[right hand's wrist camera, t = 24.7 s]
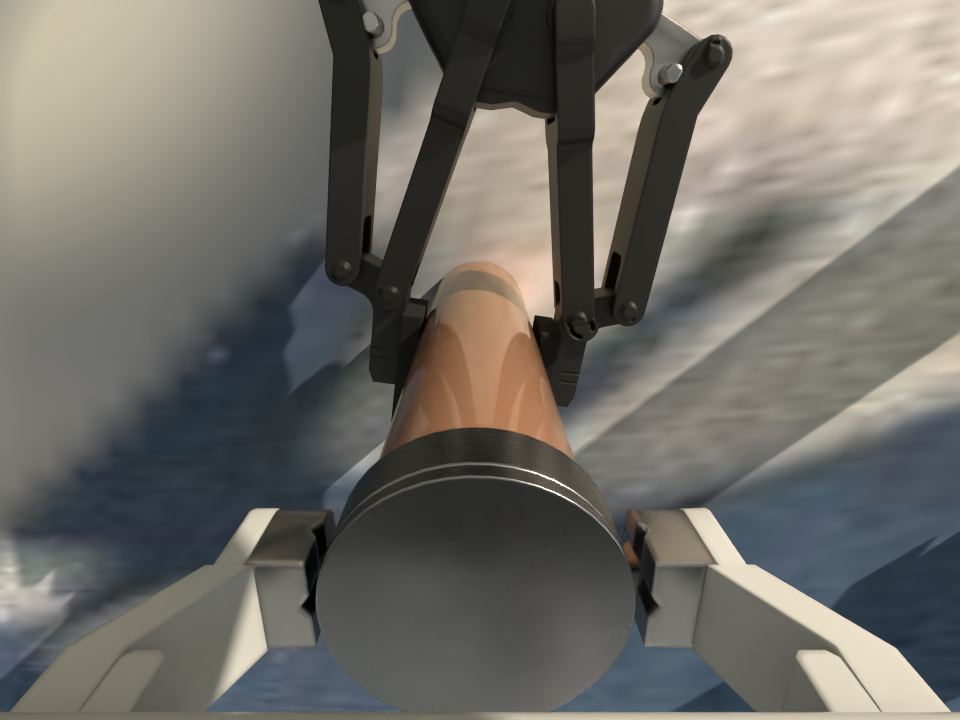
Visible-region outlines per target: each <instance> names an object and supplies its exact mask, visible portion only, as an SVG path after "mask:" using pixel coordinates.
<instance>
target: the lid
mask: <svg viewBox="0 0 960 720" xmlns="http://www.w3.org/2000/svg"><path fill="white" fill-rule="evenodd" d="M635 609H636V589H635V584H634V578H633V573H632V570H631V568H630V565H629V562H628V559H627V556H626V554H625V551H624V548H623V546H622V543H621V540H620V538H619V535H618V532H617V530H616V527H615V524H614V522H613V519H612V516H611V514H610V511H609V508H608V506H607V503H606V501H605V499H604V497H603V495H602V493H601V491H600V490H599V488H598V486H597V485H596V484H595V482H594V481H593V480H592V478H591V477H590V476H589V474H587V473H586V472H585V471H584V470H583V469H582V468H581V467H580V466H579V465H578V464H577V463H576V462H575V461H574V460H572V459H571V458H570V457H568V456H567V455H566V454H564V453H563V452H562V451H560V450H558V449H556V448H554V447H553V446H551V445H549V444H547V443H545V442H543V441H541V440H538V439H536V438H533V437H531V436H528V435H525V434H521V433H517V432H514V431H510V430H503V429H496V428H486V427H466V428H455V429H448V430H444V431H439V432H434V433H431V434H428V435H425V436H422V437H419V438H416V439H414V440H412V441H410V442H408V443H405V444H403V445H401V446H399V447H397V448H396V449H394V450H393V451H391V452H390V453H388V454H387V455H385V456H384V457H382V458H381V459H380V460H379V461H378V462H376V463H375V464H374V465H373V466H372V467H371V468H370V469H369V470H368V471H367V472H366V473H365V474H364V475H363V477H362V478H361V479H360V480H359V481H358V483H357V484H356V486H355V487H354V489H353V491H352V492H351V494H350V495H349V498H348V500H347V502H346V505H345V507H344V509H343V512H342V514H341V517H340V520H339V522H338V525H337V527H336V530H335V532H334V535H333V537H332V540H331V542H330V545H329V548H328V550H327V553H326V555H325V558H324V560H323V563H322V565H321V568H320V572H319V576H318V580H317V586H316V610H317V619H318V622H319V626H320V630H321V633H322V636H323V638H324V640H325V642H326V645H327V647H328V649H329V650H330V652H331V654H332V655H333V657H334V658H335V660H336V661H337V663H338V664H339V665H340V666H341V667H342V669H343V670H344V671H345V672H346V673H347V674H348V676H350V677H351V678H352V679H353V680H354V681H355V682H356V683H357V684H358V685H359V686H361V687H362V688H363V689H365V690H366V691H368V692H369V693H370V694H372V695H373V696H375V697H376V698H378V699H380V700H382V701H383V702H385V703H387V704H389V705H391V706H393V707H395V708H398V709H400V710H402V711H405V712H547V711H550V710H552V709H555V708H557V707H559V706H561V705H563V704H565V703H567V702H569V701H571V700H572V699H574V698H575V697H577V696H578V695H580V694H582V693H583V692H585V691H586V690H587V689H588V688H590V687H591V686H592V685H593V684H595V683H596V682H597V681H598V680H599V679H600V678H601V677H602V676H603V675H604V674H605V673H606V672H607V671H608V670H609V669H610V668H611V666H612V665H613V663H614V662H615V661H616V659H617V658H618V657H619V655H620V654H621V652H622V650H623V648H624V646H625V644H626V642H627V640H628V637H629V634H630V632H631V629H632V626H633V621H634V615H635Z"/></svg>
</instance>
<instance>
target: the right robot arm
mask: <svg viewBox="0 0 960 720" xmlns="http://www.w3.org/2000/svg"><path fill="white" fill-rule="evenodd" d="M335 528H336V525H335V519H334V513H333V512H332V510H331V509H290V508H281V509H278V508H255V509H253V510H251V511H250V512H249V513H248V514H247V516H246V517H245V519H244V520H243V522H242V523H241V525H240V526H239V528H238V529H237V531H236V532H235V534H234V535H233V536H232V538H231V539H230V541H229V542H228V544H227V545H226V547H225V548H224V550H223V551H222V553H221V554H220V556H219V557H218V559H217V560H216V562H215V563H214V565H204V566H203V567H201V568H199V569H198V570H196V571H194V572H192V573H191V574H189V575H187V576H186V577H184V578H182V579H181V580H179V581H177V582H175V583H174V584H172V585H170V586H169V587H167V588H165V589H164V590H162V591H160V592H158V593H157V594H155V595H153V596H152V597H150V598H148V599H147V600H145V601H143V602H141V603H140V604H138V605H136V606H135V607H133V608H131V609H130V610H128V611H126V612H124V613H123V614H121V615H119V616H118V617H116V618H114V619H113V620H111V621H109V622H107V623H106V624H104V625H102V626H101V627H99V628H97V629H96V630H94V631H92V632H90V633H89V634H87V635H85V636H84V637H82V638H80V639H79V640H77V641H75V642H73V643H72V644H70V645H68V646H67V647H65V648H64V649H63V650H62V652H61V653H60V654H59V655H58V656H57V657H56V659H55V660H54V661H53V662H52V663H51V664H50V665H49V667H48V668H47V669H46V670H45V671H44V672H43V674H42V675H41V676H40V677H39V678H38V679H37V680H36V682H35V683H34V684H33V685H32V686H31V687H30V689H29V690H28V691H27V692H26V693H25V694H24V695H23V697H22V698H21V699H20V700H19V701H18V702H17V704H16V705H15V706H14V707H13V708H12V709H11V710H10V712H0V720H960V712H950V710H949V709H948V708H947V707H946V706H945V705H944V703H943V702H942V701H941V700H940V699H939V698H938V696H937V695H936V694H935V693H934V692H933V691H932V689H931V688H930V687H929V686H928V685H927V684H926V683H925V681H924V680H923V679H922V678H921V677H920V676H919V674H918V673H917V672H916V671H915V670H914V669H913V667H912V666H911V665H910V664H909V663H908V662H907V660H906V659H905V658H904V657H903V656H902V655H901V653H900V652H899V651H898V650H897V649H896V648H895V647H893V646H891V645H890V644H888V643H886V642H885V641H883V640H881V639H879V638H878V637H876V636H874V635H873V634H871V633H869V632H868V631H866V630H864V629H863V628H861V627H859V626H857V625H856V624H854V623H852V622H851V621H849V620H847V619H846V618H844V617H842V616H840V615H839V614H837V613H835V612H834V611H832V610H830V609H829V608H827V607H825V606H824V605H822V604H820V603H818V602H817V601H815V600H813V599H812V598H810V597H808V596H807V595H805V594H803V593H802V592H800V591H798V590H796V589H795V588H793V587H791V586H790V585H788V584H786V583H785V582H783V581H781V580H779V579H778V578H776V577H774V576H773V575H771V574H769V573H768V572H766V571H764V570H763V569H761V568H759V567H757V566H756V565H746V563H745V562H744V560H743V559H742V557H741V556H740V554H739V553H738V551H737V550H736V548H735V547H734V546H733V544H732V543H731V541H730V540H729V538H728V537H727V535H726V534H725V532H724V531H723V529H722V528H721V526H720V525H719V524H718V522H717V521H716V519H715V518H714V516H713V515H712V513H711V512H710V511H709V510H708V509H706V508H685V509H673V510H628V511H627V514H626V517H625V525H624V528H625V531H626V533H627V536H628V539H629V540H628V541H627V542H626V543H625V544H624V545H623V548H624V551H625V554H626V556H627V559H628V562H629V565H630V568H631V570H632V573H633V578H634V584H635V589H636V609H635V615H634V618H635V620H636V623H637V626H638V629H639V632H640V635H641V637H642V640H643V643H644V646H649V647H684V648H693V649H692V650H693V651H694V652H695V653H696V654H697V655H698V656H699V657H700V658H701V659H702V660H703V661H704V662H705V663H706V664H707V665H708V666H709V667H710V668H711V669H712V670H713V671H714V672H715V673H716V674H717V675H718V676H719V677H720V678H721V679H722V680H723V681H725V682H726V683H727V684H728V685H729V686H730V687H731V688H732V689H733V690H734V691H735V692H736V693H737V694H738V695H739V696H740V697H741V698H742V699H743V700H744V701H745V702H746V703H747V704H748V705H749V706H750V707H751V708H752V709H753V710H754V711H755V712H205V711H206V710H207V709H208V708H209V707H210V706H211V705H212V704H213V703H214V702H215V701H216V700H217V699H218V698H219V697H220V696H221V695H222V694H223V693H224V692H226V691H227V690H228V689H229V688H230V687H231V686H232V685H233V684H234V683H235V682H236V681H237V680H238V679H239V678H240V677H241V676H242V675H243V674H244V673H245V672H246V671H247V670H248V669H249V668H250V667H251V666H252V665H253V664H254V663H255V662H256V661H257V660H258V659H259V658H260V657H261V656H262V655H264V654H265V653H266V652H267V650H268V649H267V648H275V647H309V646H316V644H317V641H318V638H319V635H320V632H321V630H320V626H319V622H318V619H317V610H316V586H317V580H318V576H319V572H320V568H321V565H322V563H323V560H324V558H325V555H326V553H327V550H328V548H329V545H330V542H331V539H332V536H333V534H334V531H335Z"/></svg>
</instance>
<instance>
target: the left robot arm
mask: <svg viewBox="0 0 960 720" xmlns="http://www.w3.org/2000/svg"><path fill="white" fill-rule="evenodd" d="M319 4H320V8H321V12H322V15H323V19H324V23H325V26H326V30H327V34H328V37H329V41H330V45H331V48H332V52H333V80H332V106H331V132H330V157H329V182H328V208H327V233H326V258H325V270H326V275H327V276H328V278H329V280H330V281H332V282H333V283H334V284H336V285H339V286H349V287H350V288H352V289H354V290H356V291H358V292H360V293H362V294H364V295H365V296H366V297H367V298H368V299H369V300H370V302H371V304H372V307H373V326H372V338H371V351H370V363H369V371H370V374H371V377H372V380H373V381H374V382H381V383H389V384H395V389H394V399H393V410H392V419H393V416H394V413H395V410H396V407H397V404H398V401H399V399H400V396H401V393H402V390H403V387H404V384H405V381H406V378H407V375H408V372H409V369H410V366H411V363H412V360H413V357H414V354H415V351H416V348H417V345H418V342H419V340H420V337H421V334H422V331H423V328H424V325H425V322H426V316H427V308H428V300H423V299H416V298H410V294H411V288H412V286H413V284H414V280H415V277H416V274H417V272H418V269H419V266H420V263H421V261H422V258H423V255H424V252H425V249H426V247H427V244H428V241H429V238H430V235H431V233H432V230H433V227H434V224H435V221H436V219H437V216H438V213H439V210H440V208H441V205H442V202H443V199H444V196H445V194H446V191H447V188H448V185H449V182H450V180H451V177H452V174H453V171H454V169H455V166H456V163H457V160H458V157H459V155H460V152H461V149H462V146H463V143H464V141H465V138H466V135H467V133H468V131H469V128H470V125H471V123H472V120H473V117H474V114H475V111H476V109H477V108H480V109H487V110H496V109H504V108H515V109H517V110H519V111H521V112H524V113H526V114H528V115H530V116H532V117H536V118H542V119H545V130H546V144H547V148H548V164H549V188H550V213H551V237H552V261H553V285H554V307H555V315H554V320H553V319H552V318H550V317H543V316H536V315H535V317H534V322H533V328H532V329H533V332H534V335H535V338H536V341H537V344H538V348H539V351H540V354H541V357H542V360H543V363H544V366H545V369H546V372H547V375H548V379H549V382H550V385H551V388H552V391H553V394H554V397H555V400H556V403H557V406H564V407H567V406H568V404H569V403H570V402H571V400H572V399H573V397H574V395H575V390H576V386H577V381H578V377H579V373H580V368H581V364H582V359H583V355H584V351H585V346H586V342H587V341H589V340H590V339H592V338H593V337H594V336H595V335H596V333H597V332H598V329H599V328H602V327H606V326H611V325H616V324H621V325H623V326H632V325H634V324H637V323H638V322H639V321H640V320H641V319H642V317H643V315H644V313H645V309H646V306H647V302H648V298H649V294H650V291H651V287H652V283H653V280H654V276H655V272H656V268H657V265H658V261H659V257H660V253H661V250H662V246H663V242H664V239H665V235H666V231H667V227H668V224H669V220H670V216H671V212H672V209H673V205H674V201H675V197H676V194H677V190H678V186H679V183H680V179H681V175H682V171H683V168H684V164H685V160H686V156H687V153H688V149H689V145H690V142H691V138H692V134H693V130H694V127H695V123H696V119H697V116H698V114H699V112H700V111H701V109H702V108H703V106H704V104H705V103H706V101H707V100H708V98H709V96H710V95H711V93H712V92H713V90H714V89H715V87H716V85H717V84H718V82H719V81H720V79H721V77H722V76H723V74H724V73H725V71H726V69H727V68H728V66H729V64H730V62H731V59H732V47H731V43H730V42H729V40H728V39H727V38H726V37H724V36H722V35H719V34H718V35H711V36H709V37H707V38H705V39H701V38H699V37H698V36H696V35H695V34H693V33H692V32H690V31H689V30H688V29H686V28H685V27H683V26H682V25H680V24H679V23H677V22H676V21H674V20H673V19H671V18H670V17H669V16H667V15H666V14H664V13H663V12H662V10H663V0H319ZM410 9H412V11H413V13H414V15H415V17H416V19H417V21H418V23H419V25H420V27H421V29H422V31H423V33H424V35H425V37H426V39H427V41H428V44H429V46H430V48H431V50H432V52H433V54H434V56H435V58H436V60H437V62H438V64H439V66H440V68H441V70H442V72H443V77H442V80H441V83H440V86H439V89H438V92H437V95H436V98H435V102H434V105H433V109H432V113H431V118H430V122H429V125H428V128H427V131H426V134H425V137H424V140H423V143H422V146H421V149H420V152H419V155H418V158H417V161H416V164H415V167H414V170H413V173H412V176H411V179H410V182H409V185H408V188H407V191H406V194H405V197H404V200H403V203H402V206H401V209H400V212H399V215H398V218H397V221H396V224H395V227H394V230H393V233H392V236H391V239H390V242H389V245H388V248H387V251H386V254H385V257H384V260H382V259H380V258H378V257H376V256H374V255H372V254H371V250H372V236H373V221H374V207H375V192H376V178H377V163H378V149H379V134H380V119H381V105H382V90H383V71H382V60H381V54H383V53H385V52H388V51H389V50H390V49H391V48H392V47H393V46H394V44H395V41H396V32H397V31H396V30H397V22H398V19H399V18H400V16H401V15H402V14H403V13H404V12H405V11H407V10H410ZM637 49H639V50H640V51H641V52H642V53H643V55H644V58H645V62H646V63H645V71H644V74H643V77H642V88H643V91H644V92H645V94H646V95H647V96H648V97H649V98H650V100H649V102H648V104H647V106H646V108H645V111H644V113H643V116H642V119H641V122H640V126H639V129H638V133H637V137H636V142H635V146H634V150H633V154H632V159H631V163H630V167H629V171H628V176H627V180H626V184H625V188H624V193H623V197H622V201H621V205H620V210H619V214H618V218H617V222H616V227H615V231H614V235H613V239H612V244H611V248H610V252H609V257H608V261H607V265H606V269H605V274H604V278H603V282H602V286H601V288H597V289H594V241H593V172H592V144H593V139H594V134H595V93H596V92H597V91H598V90H599V89H600V88H601V87H602V86H603V85H604V84H605V83H606V82H607V81H608V80H609V79H610V78H611V76H612V75H613V74H614V73H615V72H616V71H617V70H618V69H619V68H620V67H621V66H622V65H623V64H624V63H625V62H626V61H627V59H628V58H629V57H630V56H631V55H632V54H633V53H634V52H635V51H636V50H637ZM391 422H392V420H391Z"/></svg>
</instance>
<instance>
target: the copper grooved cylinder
mask: <svg viewBox="0 0 960 720" xmlns="http://www.w3.org/2000/svg"><path fill="white" fill-rule="evenodd" d="M466 427H486V428H496V429H503V430H510V431H514V432H517V433H521V434H525V435H528V436H531V437H533V438H536V439H538V440H541V441H543V442H545V443H547V444H549V445H551V446H553V447H554V448H556V449H558V450H560V451H562V452H563V453H564V454H566V455H567V456H568V457H570V458H571V459H572V460H574V461H575V459H574V456H573V453H572V450H571V447H570V444H569V441H568V438H567V434H566V431H565V428H564V425H563V422H562V419H561V416H560V413H559V410H558V407H557V403H556V400H555V397H554V394H553V391H552V388H551V385H550V382H549V379H548V375H547V372H546V369H545V366H544V363H543V360H542V357H541V354H540V351H539V348H538V344H537V341H536V338H535V335H534V332H533V329H532V326H531V323H530V320H529V316H528V313H527V310H526V307H525V304H524V301H523V298H522V295H521V292H520V289H519V287H518V285H517V283H516V282H515V280H514V279H513V278H512V277H511V275H510V274H508V273H507V272H506V271H505V270H503V269H502V268H500V267H498V266H496V265H493V264H490V263H485V262H471V263H466V264H463V265H460V266H458V267H456V268H454V269H453V270H452V271H450V272H449V273H448V274H447V275H446V276H445V277H444V278H443V279H442V280H441V282H440V284H439V285H438V287H437V290H436V292H435V295H434V298H433V301H432V304H431V307H430V310H429V313H428V316H427V319H426V322H425V325H424V328H423V331H422V334H421V337H420V340H419V342H418V345H417V348H416V351H415V354H414V357H413V360H412V363H411V366H410V369H409V372H408V375H407V378H406V381H405V384H404V387H403V390H402V393H401V396H400V399H399V401H398V404H397V407H396V410H395V413H394V416H393V419H392V422H391V425H390V428H389V431H388V434H387V437H386V440H385V443H384V446H383V449H382V452H381V455H380V458H379V460H380V459H381V458H382V457H384V456H385V455H387V454H388V453H390V452H391V451H393V450H394V449H396V448H397V447H399V446H401V445H403V444H405V443H408V442H410V441H412V440H414V439H416V438H419V437H422V436H425V435H428V434H431V433H434V432H439V431H444V430H448V429H455V428H466ZM379 460H378V461H379Z"/></svg>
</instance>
